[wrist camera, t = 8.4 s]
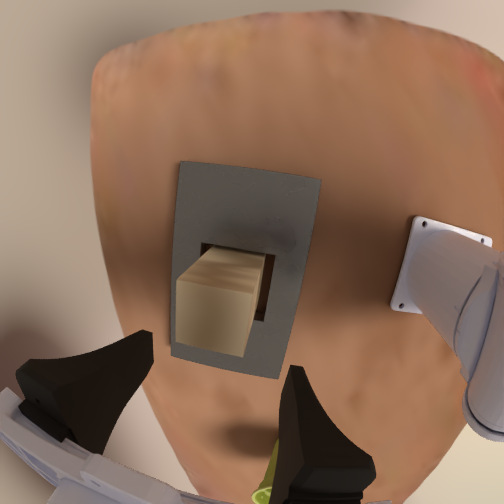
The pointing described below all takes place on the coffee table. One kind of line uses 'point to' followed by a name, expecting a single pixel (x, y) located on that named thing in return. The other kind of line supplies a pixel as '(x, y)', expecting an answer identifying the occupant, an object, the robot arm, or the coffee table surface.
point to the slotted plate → (248, 238)
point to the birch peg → (219, 299)
